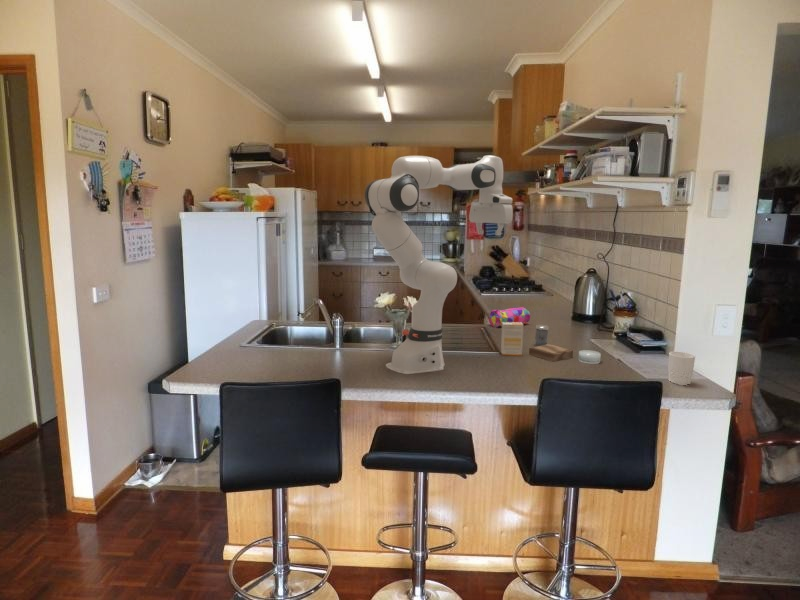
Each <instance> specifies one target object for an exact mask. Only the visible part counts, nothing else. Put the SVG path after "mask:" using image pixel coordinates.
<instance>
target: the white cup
mask: <svg viewBox="0 0 800 600" xmlns="http://www.w3.org/2000/svg"><path fill="white" fill-rule="evenodd" d="M695 360H696V355H695V354H694V353H690V352H685V351H676V350H675V351H670V352H669V353H668V365H667V366H668V367H667V369H668V371H667V372H668V373H667V374H668V378H667V380H669V381H671V382H674V383H678V384H690V385H691V382H692V377H693V372H694V366H695ZM669 381H668V382H669Z"/></svg>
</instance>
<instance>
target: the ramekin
mask: <svg viewBox="0 0 800 600" xmlns="http://www.w3.org/2000/svg"><path fill="white" fill-rule="evenodd" d="M601 356H602V354H601V352H599V351H597V350H596V351H595V350H589V349H582V350H579V351H578V361H579V362H581V363H584V364H589V365H598V364H600V363H601Z"/></svg>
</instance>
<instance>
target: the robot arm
mask: <svg viewBox="0 0 800 600" xmlns="http://www.w3.org/2000/svg"><path fill="white" fill-rule="evenodd" d="M503 163H504V162H503V159H502V158H501V157H500V156H497V155H492V154H487V155H486V154H485V155H483V157H482V158H481V159H480V160H478V161H475V162H473V163H464V164H463V163H462V164H458V163H457V164H452V165H451V166H449V167H443V164H442V163H441V161H440V160H439V159H437V158H434V157H432V156H431V157H430V156H426V155H405V156H401V157H398V158H396V159H395V160H394V161H393V163H392V165H391V172H390V173H391V176H390V177H389V178H383V179H375V180H373V181H371V182H370V183H369V184H367V185H366V187H365V189H364V200H365V203H366V206H367V207H368V208H369V209H368V211H369V213H371V214H372V215H373V216H374V218H373V219H372V221H371V229H372V232H373V234H374V235H375V237H376V238H377V240H378V241H379V243H380V244H381V245H382V247H383V248H384V249H385V251H386V252H387V253H388V254H389V255H390V257H391V258H392V259H393V261H395V263H396V265H397V266H398V269H399V279H400V281H401V282H402V283H403V284H404V285H405V286H407V287H410V288H411V289H413V290H414V289H415V290H420V295H419V298H418V301H417V302H415V303H414V304H413V305H412V308H411V327H410V328H409V330H408V329H403V330H402V332H401V334H402V335H404V336H406V337H407V338H406V339H405V340H404V341H403V342H402V343H401V344H400V345H399V346H398V347H396V349H395V350H393V352H392V355H391V356H392V358H391V362H388V363H386V364H385V368H386V369H388V370H391V371H393V372H396V373H399V374H405V375H410V374H411V375H413V374H422V373H429V372H437V371H443V370H444V367H445V365H446V364H445V361H444V360H445V359H444V356H443V355H444V354H443V347H442V345H443V344H442V339H443V327H442V324H443V323H442V321H443V320H442V319H443V307H444V303H445V301H446V298H447V297H448V294H450V292H451V291H453V290H454V289H455V287H456V285H457V282H458V274H457V271H456V269H455V268H454V267H453V266H451V265H449V264H447V263H444V262H441V261H434V260H433V261H432V260H429V259H428V258H426V257H425V256H424V255H423V249H424V248H423V243H422V241H420V239H419V238H418V237H417V235H416V234H415V233H414V232H413V231H412V229H411V228H410V226H409V225H408V224H407V223H406V222H405V220H404V218H403V215H402V213H403V212H407V211H411V210H412V209H414V208H415V207H416V206H417V205H418V202H419V198H420V189H424V190H426V189H434V188H437V187H439V185H440V186H442V185H443V186H446V187H448V188H449V189H451V190H452V191H456V192H459V191H460V192H461V191H466V190H467V191H468V190H469V191H470V190H471V191H473V190H479V197H478V199H477V198H476V199H473V200H472V202H471V203H470V210H469V213H468V214H469V216H468V220H469V222H470V223H475V227H476V229H477V235H484V233H485V232H484V229H483V228H482V226H483V224H497V230H495V231H494V232H495V236H499V237H500V236H502V231H503V229H504V226H505V225H506V224H509V225H510V224H512V222H513V215H514V214H513V212H514V211H513V205H512V204H513V198H512V197H510V196H508V195H506V194H504V192H503V181H504V164H503Z"/></svg>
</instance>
